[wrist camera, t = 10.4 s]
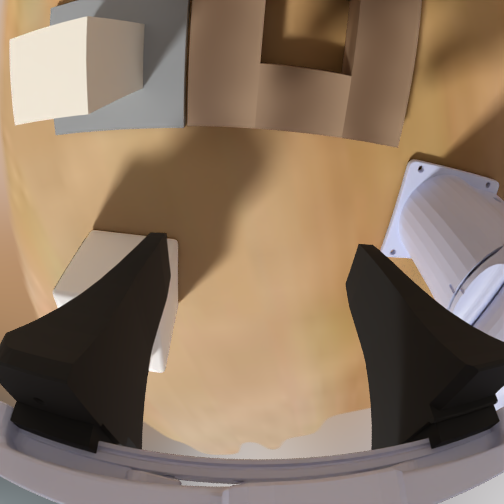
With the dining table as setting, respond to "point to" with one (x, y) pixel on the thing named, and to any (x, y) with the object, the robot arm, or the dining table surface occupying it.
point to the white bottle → (101, 262)
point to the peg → (74, 67)
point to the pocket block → (303, 73)
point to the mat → (154, 65)
